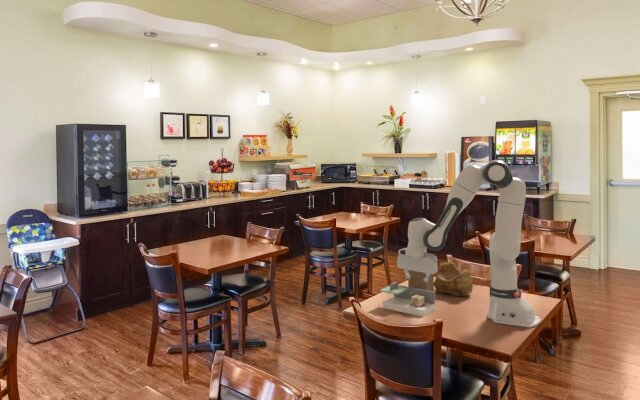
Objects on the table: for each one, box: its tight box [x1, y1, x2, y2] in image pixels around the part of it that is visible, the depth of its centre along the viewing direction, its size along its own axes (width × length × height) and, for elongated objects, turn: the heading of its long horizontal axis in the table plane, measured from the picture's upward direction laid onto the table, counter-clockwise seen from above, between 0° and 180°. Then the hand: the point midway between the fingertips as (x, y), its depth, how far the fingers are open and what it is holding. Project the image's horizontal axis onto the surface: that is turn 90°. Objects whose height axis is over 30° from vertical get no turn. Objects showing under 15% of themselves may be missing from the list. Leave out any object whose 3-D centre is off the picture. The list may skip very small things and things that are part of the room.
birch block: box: [411, 295, 424, 308], centre depth 236 cm, size 4×4×7 cm
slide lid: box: [379, 281, 408, 295], centre depth 243 cm, size 10×10×4 cm
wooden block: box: [407, 270, 435, 292], centre depth 254 cm, size 10×10×20 cm
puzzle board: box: [382, 284, 436, 318], centre depth 239 cm, size 22×12×9 cm, turn 50°
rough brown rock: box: [434, 261, 474, 297], centre depth 264 cm, size 23×17×15 cm
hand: (416, 280), depth 235 cm, fingers open, 8 cm apart
